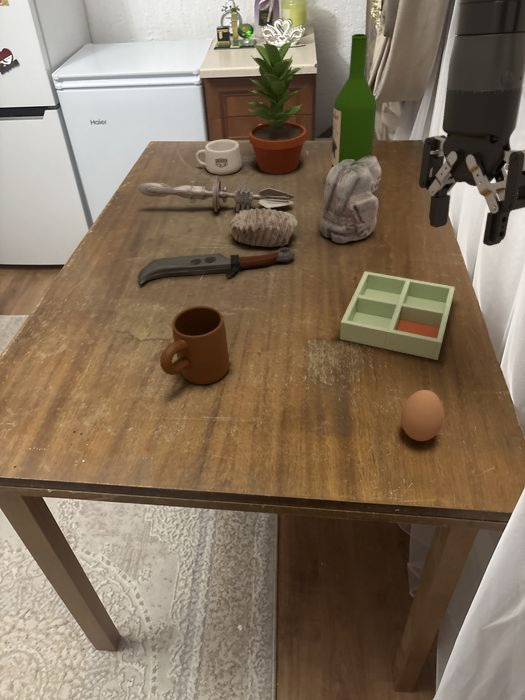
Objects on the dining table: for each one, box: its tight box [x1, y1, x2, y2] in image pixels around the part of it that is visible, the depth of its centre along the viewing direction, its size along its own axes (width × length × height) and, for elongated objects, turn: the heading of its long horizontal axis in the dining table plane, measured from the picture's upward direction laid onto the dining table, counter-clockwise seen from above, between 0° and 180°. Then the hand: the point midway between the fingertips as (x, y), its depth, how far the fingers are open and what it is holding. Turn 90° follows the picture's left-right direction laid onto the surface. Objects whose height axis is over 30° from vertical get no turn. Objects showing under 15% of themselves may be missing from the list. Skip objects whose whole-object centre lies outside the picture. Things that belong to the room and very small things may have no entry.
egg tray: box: [339, 270, 456, 361], centre depth 88 cm, size 15×15×4 cm
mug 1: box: [159, 305, 230, 385], centre depth 78 cm, size 12×8×9 cm, turn 147°
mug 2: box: [195, 138, 243, 176], centre depth 139 cm, size 12×10×6 cm
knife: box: [137, 246, 295, 285], centre depth 103 cm, size 9×2×30 cm
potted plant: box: [246, 37, 307, 175], centre depth 131 cm, size 15×15×30 cm
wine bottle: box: [331, 33, 377, 168], centre depth 117 cm, size 9×9×32 cm
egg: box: [400, 389, 445, 442], centre depth 68 cm, size 5×5×8 cm
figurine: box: [319, 154, 382, 244], centre depth 108 cm, size 10×11×15 cm
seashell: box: [229, 207, 299, 248], centre depth 109 cm, size 14×9×10 cm
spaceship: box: [137, 175, 295, 213], centre depth 120 cm, size 8×35×8 cm
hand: (463, 234), depth 64 cm, fingers open, 8 cm apart
